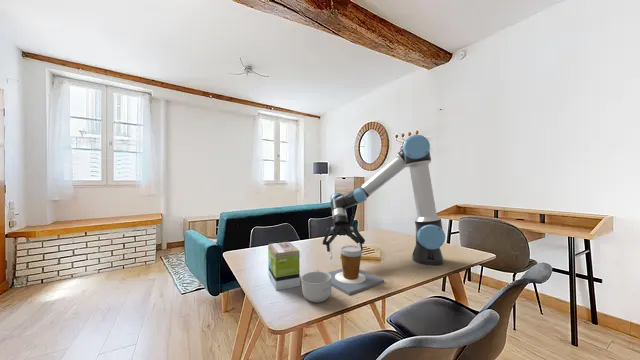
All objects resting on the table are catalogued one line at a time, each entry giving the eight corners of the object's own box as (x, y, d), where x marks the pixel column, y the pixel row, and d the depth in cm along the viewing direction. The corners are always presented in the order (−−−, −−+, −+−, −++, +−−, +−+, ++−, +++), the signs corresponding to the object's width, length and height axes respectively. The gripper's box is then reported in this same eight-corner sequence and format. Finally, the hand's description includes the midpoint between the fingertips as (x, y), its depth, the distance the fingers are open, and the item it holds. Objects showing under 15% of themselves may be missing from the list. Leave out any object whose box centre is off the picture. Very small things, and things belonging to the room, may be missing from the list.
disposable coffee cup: (363, 281, 99) (363, 252, 99) (340, 281, 99) (340, 251, 99) (360, 272, 108) (360, 245, 108) (339, 272, 109) (339, 245, 109)
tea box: (267, 276, 107) (267, 243, 107) (289, 273, 110) (289, 241, 111) (275, 291, 93) (275, 252, 93) (300, 286, 97) (300, 249, 97)
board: (351, 268, 117) (351, 265, 117) (384, 282, 101) (384, 279, 101) (317, 277, 106) (317, 274, 106) (348, 295, 90) (348, 291, 90)
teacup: (328, 307, 81) (328, 283, 81) (297, 304, 83) (297, 280, 83) (334, 289, 94) (334, 268, 94) (307, 287, 96) (307, 266, 96)
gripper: (362, 222, 129) (371, 260, 114) (315, 223, 126) (318, 262, 111) (365, 214, 124) (374, 252, 109) (316, 214, 121) (319, 254, 106)
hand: (346, 257), depth 110 cm, fingers open, 13 cm apart
